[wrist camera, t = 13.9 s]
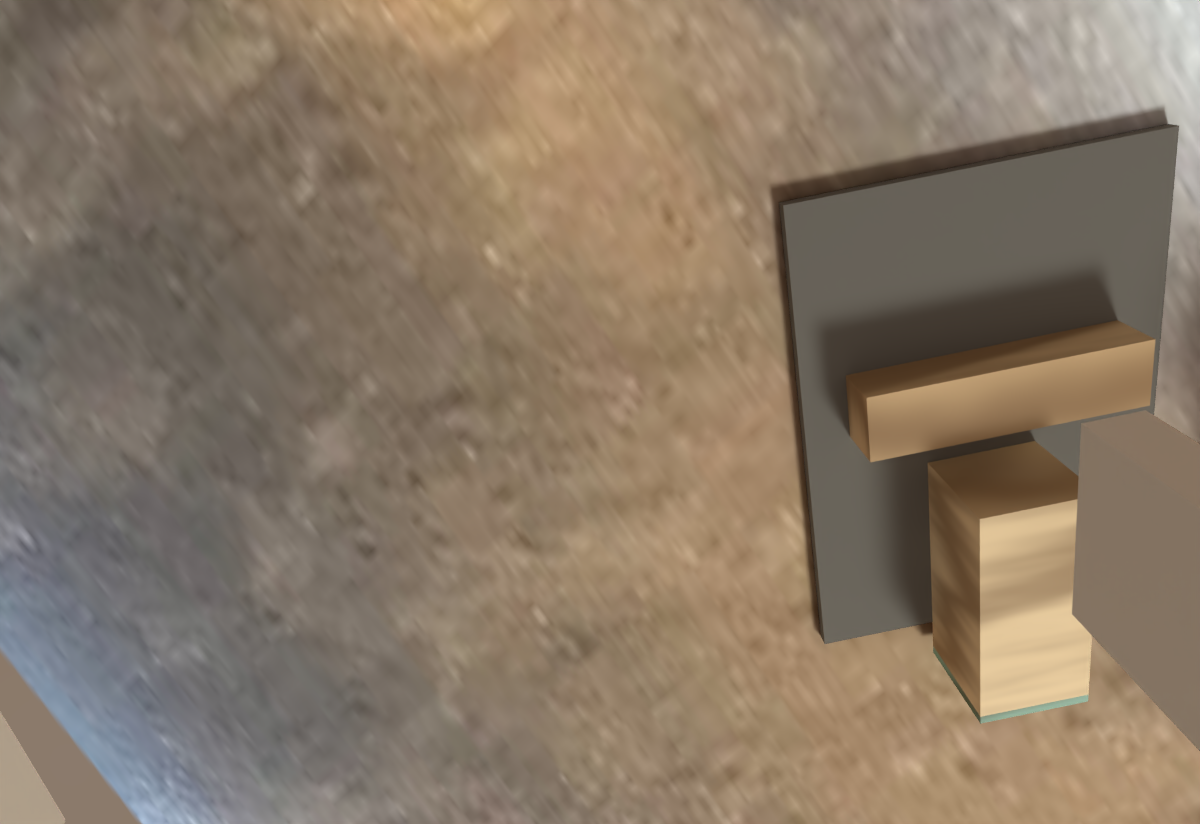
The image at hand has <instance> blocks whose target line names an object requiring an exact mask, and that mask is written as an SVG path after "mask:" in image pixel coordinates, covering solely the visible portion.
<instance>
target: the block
mask: <svg viewBox="0 0 1200 824" xmlns="http://www.w3.org/2000/svg"><path fill="white" fill-rule="evenodd" d="M1078 480H1079V476H1077V475H1076V474H1075V473H1074V472H1073V471H1071V470H1070V469H1069V468H1068V467H1066V466H1065V465H1064V464H1063V463H1061V462H1060V461H1059V460H1058V459H1057V458H1055V457H1054V456H1053V455H1052V454H1050V453H1049V452H1048V451H1047V450H1046V449H1044V448H1043V447H1042V446H1041V445H1039V444H1038V443H1037V442H1036V441H1032V442H1027V443H1022V444H1018V445H1013V446H1008V447H1003V448H998V449H993V450H988V451H983V452H978V453H973V454H968V455H964V456H959V457H954V458H949V459H944V460H939V461H934V462H929V463H928V490H929V523H930V555H931V587H932V620H933V652H934V654H935V655H936V657H937V658H938V660H939V661H940V663H941V664H942V666H943V667H944V669H945V670H946V672H947V673H948V675H949V676H950V678H951V679H952V681H953V683H954V684H955V686H956V687H957V689H958V690H959V692H960V693H961V695H962V696H963V698H964V699H965V701H966V702H967V704H968V705H969V707H970V708H971V710H972V711H973V713H974V714H975V716H976V717H977V719H978V720H979V722H980V723H985V722H990V721H995V720H1000V719H1005V718H1010V717H1014V716H1019V715H1024V714H1029V713H1034V712H1039V711H1044V710H1048V709H1053V708H1058V707H1063V706H1068V705H1073V704H1078V703H1082V702H1087V701H1088V692H1089V676H1090V660H1091V643H1092V635H1091V634H1090V633H1089V632H1088V631H1087V630H1086V629H1085V628H1084V626H1083V625H1082V624H1081V623H1080V622H1079V621H1078V620H1077V619H1076V618H1075V617H1074V616H1073V615H1072V601H1073V581H1074V561H1075V541H1076V520H1077V500H1078Z"/></svg>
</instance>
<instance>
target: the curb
mask: <svg viewBox="0 0 1200 824" xmlns="http://www.w3.org/2000/svg"><path fill="white" fill-rule="evenodd" d="M1154 351H1155V339H1154V338H1152V337H1150V336H1148V335H1146V334H1144V333H1142V332H1140V331H1138V330H1136V329H1134V328H1132V327H1130V326H1128V325H1126V324H1124V323H1122V322H1120V321H1118V320H1116V321H1111V322H1106V323H1102V324H1097V325H1092V326H1087V327H1082V328H1077V329H1072V330H1067V331H1062V332H1057V333H1052V334H1047V335H1042V336H1037V337H1032V338H1028V339H1023V340H1018V341H1013V342H1008V343H1003V344H998V345H993V346H988V347H983V348H978V349H973V350H968V351H963V352H958V353H954V354H949V355H944V356H939V357H934V358H929V359H924V360H919V361H914V362H909V363H904V364H899V365H894V366H889V367H885V368H880V369H875V370H870V371H865V372H860V373H855V374H850V375H846V386H847V401H848V415H849V429H850V437H851V439H852V440H853V441H854V442H855V444H856V445H857V446H858V447H859V449H860V450H861V451H862V452H863V454H864V455H865V456H866V457H867V459H868V460H869V461H870V462H875V461H880V460H885V459H890V458H895V457H899V456H904V455H909V454H914V453H919V452H924V451H929V450H934V449H939V448H944V447H949V446H954V445H958V444H963V443H968V442H973V441H978V440H983V439H988V438H993V437H998V436H1003V435H1008V434H1012V433H1017V432H1022V431H1027V430H1032V429H1037V428H1042V427H1047V426H1052V425H1057V424H1062V423H1067V422H1071V421H1076V420H1081V419H1086V418H1091V417H1096V416H1101V415H1106V414H1111V413H1116V412H1121V411H1125V410H1130V409H1135V408H1140V407H1145V406H1150V399H1151V387H1152V375H1153V363H1154Z"/></svg>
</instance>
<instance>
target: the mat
mask: <svg viewBox="0 0 1200 824" xmlns="http://www.w3.org/2000/svg"><path fill="white" fill-rule="evenodd" d="M1178 131H1179V126H1177V125H1171V124H1167V125H1162V126H1157V127H1152V128H1147V129H1142V130H1137V131H1133V132H1128V133H1123V134H1118V135H1113V136H1108V137H1103V138H1098V139H1093V140H1088V141H1083V142H1078V143H1073V144H1068V145H1063V146H1058V147H1053V148H1048V149H1043V150H1038V151H1033V152H1028V153H1023V154H1018V155H1013V156H1008V157H1003V158H998V159H993V160H988V161H983V162H978V163H973V164H968V165H963V166H959V167H954V168H949V169H944V170H939V171H934V172H929V173H924V174H919V175H914V176H909V177H904V178H899V179H894V180H889V181H884V182H879V183H874V184H869V185H864V186H859V187H854V188H849V189H844V190H839V191H834V192H829V193H824V194H819V195H814V196H809V197H804V198H799V199H794V200H789V201H785V202H780V203H779V205H780V216H781V226H782V237H783V247H784V257H785V268H786V278H787V289H788V299H789V309H790V320H791V330H792V340H793V351H794V361H795V372H796V382H797V392H798V403H799V413H800V424H801V434H802V444H803V455H804V465H805V476H806V486H807V496H808V507H809V517H810V527H811V538H812V548H813V559H814V569H815V579H816V590H817V600H818V611H819V621H820V631H821V637H822V639H823V641H824V643H825V644H827V643H832V642H837V641H842V640H847V639H852V638H857V637H861V636H866V635H871V634H876V633H881V632H886V631H891V630H896V629H900V628H905V627H910V626H915V625H920V624H925V623H930V622H933V620H932V587H931V555H930V523H929V490H928V463H929V462H934V461H939V460H944V459H949V458H954V457H959V456H964V455H968V454H973V453H978V452H983V451H988V450H993V449H998V448H1003V447H1008V446H1013V445H1018V444H1022V443H1027V442H1032V441H1036V442H1037V443H1038V444H1039V445H1041V446H1042V447H1043V448H1044V449H1046V450H1047V451H1048V452H1049V453H1050V454H1052V455H1053V456H1054V457H1055V458H1057V459H1058V460H1059V461H1060V462H1061V463H1063V464H1064V465H1065V466H1066V467H1068V468H1069V469H1070V470H1071V471H1073V472H1074V473H1075V474H1076V475H1077V476H1079V460H1080V439H1081V423H1086V422H1091V421H1096V420H1101V419H1106V418H1111V417H1115V416H1120V415H1125V414H1130V413H1135V412H1140V411H1145V410H1146V411H1148V412H1149V413H1151V414H1153V415H1154V408H1155V396H1156V385H1157V373H1158V362H1159V350H1160V339H1161V327H1162V316H1163V304H1164V293H1165V281H1166V269H1167V258H1168V246H1169V235H1170V223H1171V212H1172V200H1173V189H1174V177H1175V166H1176V154H1177V143H1178ZM1116 320H1118V321H1120V322H1122V323H1124V324H1126V325H1128V326H1130V327H1132V328H1134V329H1136V330H1138V331H1140V332H1142V333H1144V334H1146V335H1148V336H1150V337H1152V338H1154V339H1155V351H1154V363H1153V375H1152V387H1151V399H1150V406H1145V407H1140V408H1135V409H1130V410H1125V411H1121V412H1116V413H1111V414H1106V415H1101V416H1096V417H1091V418H1086V419H1081V420H1076V421H1071V422H1067V423H1062V424H1057V425H1052V426H1047V427H1042V428H1037V429H1032V430H1027V431H1022V432H1017V433H1012V434H1008V435H1003V436H998V437H993V438H988V439H983V440H978V441H973V442H968V443H963V444H958V445H954V446H949V447H944V448H939V449H934V450H929V451H924V452H919V453H914V454H909V455H904V456H899V457H895V458H890V459H885V460H880V461H875V462H870V461H869V460H868V459H867V457H866V456H865V455H864V454H863V452H862V451H861V450H860V449H859V447H858V446H857V445H856V444H855V442H854V441H853V440H852V439H851V437H850V429H849V415H848V401H847V386H846V375H850V374H855V373H860V372H865V371H870V370H875V369H880V368H885V367H889V366H894V365H899V364H904V363H909V362H914V361H919V360H924V359H929V358H934V357H939V356H944V355H949V354H954V353H958V352H963V351H968V350H973V349H978V348H983V347H988V346H993V345H998V344H1003V343H1008V342H1013V341H1018V340H1023V339H1028V338H1032V337H1037V336H1042V335H1047V334H1052V333H1057V332H1062V331H1067V330H1072V329H1077V328H1082V327H1087V326H1092V325H1097V324H1102V323H1106V322H1111V321H1116Z"/></svg>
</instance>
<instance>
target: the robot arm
mask: <svg viewBox="0 0 1200 824" xmlns="http://www.w3.org/2000/svg"><path fill="white" fill-rule="evenodd" d="M1072 615H1073V616H1074V617H1075V618H1076V619H1077V620H1078V621H1079V622H1080V623H1081V624H1082V625H1083V626H1084V628H1085V629H1086V630H1087V631H1088V632H1089V633H1090V634H1091V635H1092V636H1093V637H1094V638H1095V639H1096V640H1097V642H1098V643H1099V644H1100V645H1101V646H1102V647H1103V648H1104V649H1105V650H1106V651H1107V652H1108V653H1109V654H1110V655H1111V657H1112V658H1113V659H1114V660H1115V661H1116V662H1117V663H1118V664H1119V665H1120V666H1121V667H1122V668H1123V669H1124V670H1125V672H1126V673H1127V674H1128V675H1129V676H1130V677H1131V678H1132V679H1133V680H1134V681H1135V682H1136V683H1137V684H1138V685H1139V687H1140V688H1141V689H1142V690H1143V691H1144V692H1145V693H1146V694H1147V695H1148V696H1149V697H1150V698H1151V699H1152V700H1153V702H1154V703H1155V704H1156V705H1157V706H1158V707H1159V708H1160V709H1161V710H1162V711H1163V712H1164V713H1165V714H1166V716H1167V717H1168V718H1169V719H1170V720H1171V721H1172V722H1173V723H1174V724H1175V725H1176V726H1177V727H1178V728H1179V729H1180V731H1181V732H1182V733H1183V734H1184V735H1185V736H1186V737H1187V738H1188V739H1189V740H1190V741H1191V742H1192V743H1193V744H1194V746H1195V747H1196V748H1197V749H1198V750H1199V751H1200V444H1199V443H1197V442H1196V441H1194V440H1192V439H1191V438H1189V437H1188V436H1186V435H1184V434H1183V433H1181V432H1180V431H1178V430H1176V429H1175V428H1173V427H1172V426H1170V425H1169V424H1167V423H1165V422H1164V421H1162V420H1161V419H1159V418H1157V417H1156V416H1154V415H1153V414H1151V413H1149V412H1148V411H1146V410H1145V411H1140V412H1135V413H1130V414H1125V415H1120V416H1115V417H1111V418H1106V419H1101V420H1096V421H1091V422H1086V423H1081V439H1080V460H1079V480H1078V500H1077V520H1076V541H1075V561H1074V581H1073V601H1072ZM65 821H66V820H65V818H64V817H63V815H62V813H61V812H60V810H59V808H58V807H57V805H56V803H55V802H54V800H53V799H52V797H51V795H50V793H49V792H48V790H47V788H46V787H45V785H44V784H43V782H42V780H41V778H40V777H39V775H38V773H37V772H36V770H35V768H34V767H33V765H32V763H31V762H30V760H29V758H28V757H27V755H26V753H25V752H24V750H23V748H22V747H21V745H20V743H19V742H18V740H17V738H16V737H15V735H14V733H13V732H12V730H11V728H10V727H9V725H8V723H7V722H6V720H5V718H4V717H3V716H2V713H1V712H0V824H64V823H65Z"/></svg>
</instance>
